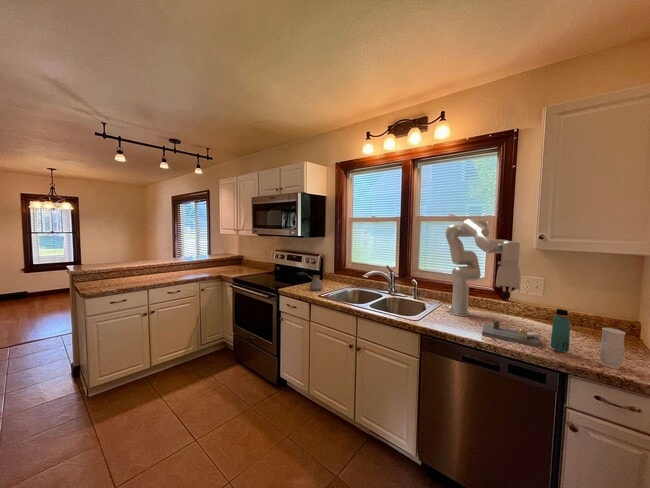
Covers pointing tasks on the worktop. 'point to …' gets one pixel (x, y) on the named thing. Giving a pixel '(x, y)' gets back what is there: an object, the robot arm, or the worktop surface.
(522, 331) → the brass slider
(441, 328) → the worktop surface
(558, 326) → the beverage bottle
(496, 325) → the dark gray slider
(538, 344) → the panel
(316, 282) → the gray watering can
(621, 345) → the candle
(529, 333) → the block
